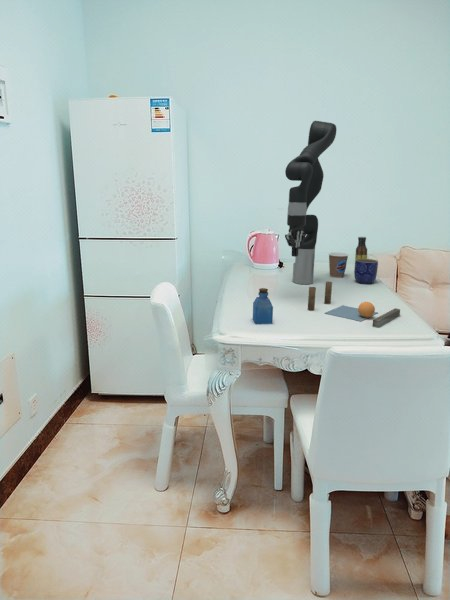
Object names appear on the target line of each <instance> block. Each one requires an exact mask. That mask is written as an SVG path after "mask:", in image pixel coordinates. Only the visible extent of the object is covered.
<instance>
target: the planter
mask: <svg viewBox="0 0 450 600" xmlns="http://www.w3.org/2000/svg"><path fill="white" fill-rule="evenodd" d="M378 267H379V261H378V260H377V259H373V258H371V259H370V258H367V259H356V260H355V259H354V270H353V271H354V272H353V274H354V276H353V277H354V279H355V281H356V283H359V284H362V285H370V284H373V283H374V282H375V281H376V279H377V275H378Z"/></svg>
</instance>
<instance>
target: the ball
mask: <svg viewBox="0 0 450 600" xmlns="http://www.w3.org/2000/svg"><path fill="white" fill-rule="evenodd" d="M357 308H358V312H359V314H360V315H361V316H362V317H365V318H367V319H369V318H371V317H373V316H374V315H373V314H374V312H376V309H375V305H374V304H373V303H372V302H371V301H363V302H361V303H360V304H359V305H358V306H357ZM372 315H373V316H372ZM368 317H369V318H368Z"/></svg>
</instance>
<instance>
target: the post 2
mask: <svg viewBox="0 0 450 600" xmlns="http://www.w3.org/2000/svg"><path fill="white" fill-rule="evenodd" d="M324 288H325V289H324V301H323V303H324V304H326V305H331V303H332V302H331V301H332V290H333V281H325V287H324Z"/></svg>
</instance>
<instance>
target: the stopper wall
mask: <svg viewBox="0 0 450 600" xmlns="http://www.w3.org/2000/svg"><path fill="white" fill-rule="evenodd" d="M400 315H401V309H400V308H393V309H391V310H389V311H387V312H384V314H382V315H379V316H378V317H375V318H373V319H372V327H373V328H377V329H378V328H380V327H381V326H384V325H385V324H387V323H389V322H390V321H393V320H394V319H396V318H398V317H400Z"/></svg>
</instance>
